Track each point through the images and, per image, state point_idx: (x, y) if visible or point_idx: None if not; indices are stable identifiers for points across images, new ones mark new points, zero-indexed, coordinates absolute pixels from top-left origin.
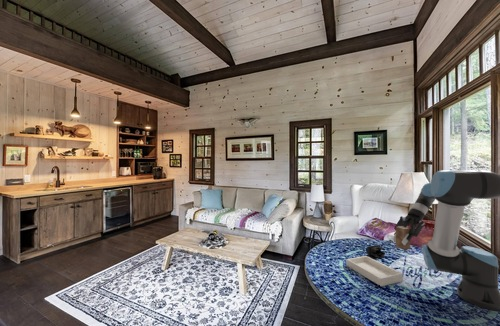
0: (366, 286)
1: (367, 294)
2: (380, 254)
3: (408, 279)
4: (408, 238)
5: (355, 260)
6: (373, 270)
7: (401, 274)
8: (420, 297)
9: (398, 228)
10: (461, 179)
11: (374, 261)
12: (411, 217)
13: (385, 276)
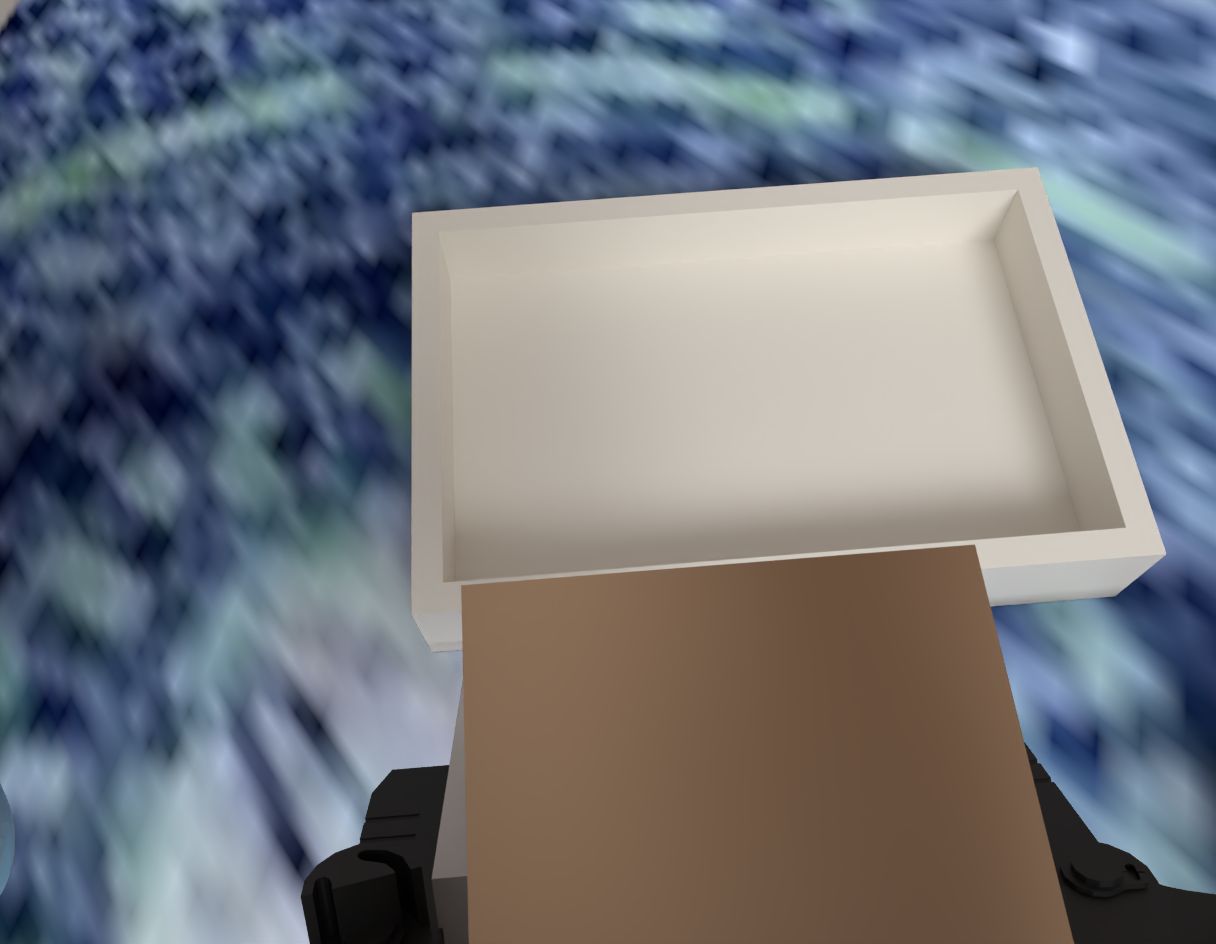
0: (484, 141)
1: (364, 64)
2: None
3: None
4: (386, 792)
5: (1042, 323)
6: (761, 434)
7: (411, 583)
8: (84, 515)
9: (798, 575)
10: None
11: None
12: None
13: (436, 304)
